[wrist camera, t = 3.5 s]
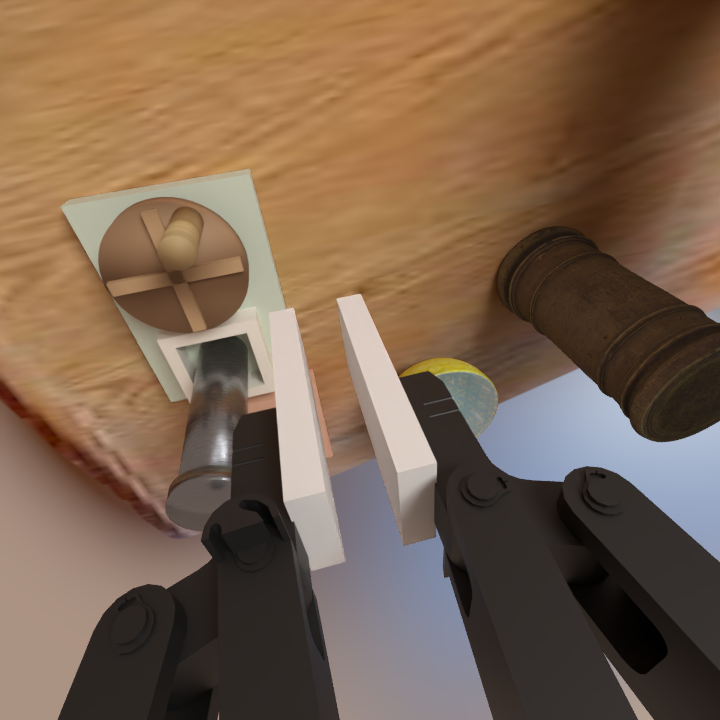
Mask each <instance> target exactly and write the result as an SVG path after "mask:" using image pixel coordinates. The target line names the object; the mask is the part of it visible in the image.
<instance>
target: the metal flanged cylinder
mask: <svg viewBox="0 0 720 720" xmlns="http://www.w3.org/2000/svg"><path fill="white" fill-rule="evenodd" d="M245 414H248V349H247V346H246V345H245V343H244V342H243V341H242V340H241V339H239V338H238V337H236V336H230V337H226V338H221V339H216V340H211V341H207V342H202V343H201V345H200V348H199V353H198V359H197V366H196V372H195V378H194V384H193V390H192V397H191V403H190V409H189V415H188V421H187V427H186V434H185V440H184V446H183V452H182V458H181V465H180V471H179V476H178V477H177V478H176V479H175V480H174V481H173V482H172V484H171V485H170V487H169V491H168V497H167V502H166V513H167V516H168V517H169V519H170V520H171V521H172V522H174V523H175V524H177V525H179V526H181V527H183V528H186V529H190V530H196V531H203V529H204V526H205V524H206V523H207V521H208V519H209V518H210V516H211V514H212V513H213V512H214V511H215V510H216V509H217V508H218V507H220V506H221V505H222V504H223V503H224V502H225V501H227V500H230V499H231V473H232V453H233V450H232V447H233V431H234V430H235V428H236V426H237V424H238V422H239V420H240V418H241V416H242V415H245Z"/></svg>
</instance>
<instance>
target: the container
mask: <svg viewBox="0 0 720 720" xmlns="http://www.w3.org/2000/svg"><path fill="white" fill-rule="evenodd" d="M497 288H498V293H499V296H500V299H501V301H502V302H503V304H504V305H505V306H506V307H507V308H508V309H509V310H510V311H512V312H513V313H515V314H516V315H517V316H518V317H519V318H521V319H522V320H524V321H527V322H530V323H531V324H532V325H533V326H534V328H535V329H536V330H537V331H538V332H540V333H541V334H543V335H545V336H547V337H548V338H549V339H550V340H551V341H552V342H553V343H554V344H555V345H557V346H558V348H560V349H561V350H562V351H563V352H564V353H565V354H566V355H567V356H568V357H569V358H570V359H571V360H572V361H573V362H574V363H575V364H576V365H577V366H578V367H579V368H580V369H581V370H582V371H583V372H584V373H585V374H586V375H587V376H589V378H591V379H592V380H593V381H594V382H595V383H596V384H597V385H598V387H599V389H600V390H601V391H602V392H603V393H604V394H605V395H607V396H609V397H612V398H613V399H614V400H615V401H616V402H617V403H618V404H619V406H620V408H621V409H622V411H623V413H624V415H625V416H626V417H628V418H629V419H630V422H631V425H632V427H633V429H634V430H635V431H636V432H637V433H638V434H639V435H641V436H642V437H644V438H647V439H649V440H651V441H656V442H670V441H675V440H679V439H683V438H686V437H689V436H691V435H694V434H696V433H698V432H700V431H702V430H704V429H706V428H708V427H710V426H712V425H713V424H715V423H717V422H719V421H720V323H717V322H715V321H713V320H712V319H710V318H708V317H707V316H706V315H705V313H704V312H703V311H702V310H701V309H700V308H698V307H696V306H693V305H688V304H686V303H685V302H683V301H681V300H680V299H678V298H676V297H675V296H673V295H671V294H669V293H668V292H666V291H664V290H663V289H661V288H659V287H657V286H655V285H654V284H652V283H650V282H648V281H646V280H645V279H643V278H642V277H640V276H638V275H637V274H635V273H633V272H631V271H629V270H628V269H626V268H625V267H623V266H621V265H620V264H619V263H618V262H617V261H616V260H615V259H614V258H613V257H612V256H610V255H608V254H605V253H602V252H600V251H599V249H598V247H597V246H596V245H595V243H594V242H593V241H591V240H590V239H588V238H586V237H585V236H584V235H583V234H581V233H580V232H578V231H577V230H575V229H571V228H567V227H549V228H545V229H542V230H539V231H537V232H535V233H533V234H531V235H529V236H528V237H526V238H525V239H523V240H522V241H521V242H520V243H518V244H517V245H516V246H515V247H514V248H513V249H512V250H511V251H510V252H509V254H508V255H507V256H506V258H505V259H504V261H503V263H502V265H501V267H500V270H499V273H498V279H497Z"/></svg>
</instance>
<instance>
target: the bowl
mask: <svg viewBox="0 0 720 720" xmlns="http://www.w3.org/2000/svg"><path fill="white" fill-rule="evenodd" d="M425 371H429V372H431V373H432V374H434V375H435V376H436V377H438V378H439V379H440V380H442V381H443V382H444V384H445V385H446V387H447V389H448V391H449V392H450V394H451V396H452V399H454V401H455V403H456V404H457V406H458V408H459V411H461V413H462V415H463V416H464V418H465V420H466V422H467V423H468V425H469V427H470V428H471V430H472V432H473V434H474V435H475V437H478V436H479V435H480V434H481V433H482V432H483V431H484V430H485V429H486V428H487V426H488V425H489V424H490V422H491V421H492V419H493V417H494V415H495V413H496V410H497V406H498V394H497V390H496V388H495V386H494V384H493V383H492V381H491V380H490V379H489V378H488V377H487V376H486V375H485V374H484V373H482V372H481V371H480V370H479V369H477V368H476V367H474V366H473V365H471V364H468V363H466V362H464V361H461V360H457V359H453V358H433V359H428V360H425V361H422V362H419V363H417V364H415V365H413V366H411V367H410V368H408V369H407V370H405V371H404V372H403V373H402V374H401V375H400V376H399V377H404V376H408V375H412V374H417V373H421V372H425ZM399 377H398V378H399Z"/></svg>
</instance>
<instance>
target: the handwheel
mask: <svg viewBox="0 0 720 720" xmlns="http://www.w3.org/2000/svg"><path fill="white" fill-rule="evenodd" d="M98 264H99V270H100V274H101V277H102V280H103V283H104V285H105V287H106V289H107V290H108V292H109V293H110V295H111V296H112V298H113V299H114V300H115V301H116V302H117V304H118V305H119V306H121V307H122V308H123V309H124V310H125V311H126V312H127V313H129V314H130V315H131V316H133V317H134V318H136V319H138V320H139V321H141V322H143V323H145V324H147V325H149V326H152V327H155V328H158V329H161V330H165V331H170V332H179V333H193V332H200V331H204V330H208V329H211V328H214V327H216V326H218V325H220V324H222V323H224V322H225V321H227V320H228V319H230V318H231V317H232V316H233V315H234V314H235V313H236V312H237V311H238V309H239V308H240V307H241V305H242V303H243V301H244V300H245V297H246V294H247V290H248V286H249V263H248V257H247V253H246V250H245V248H244V245H243V243H242V241H241V239H240V237H239V236H238V234H237V233H236V232H235V230H234V229H233V228H232V227H231V226H230V225H229V223H228V222H227V221H225V220H224V219H223V218H222V217H221V216H220V215H218V214H217V213H215V212H214V211H212V210H211V209H209V208H207V207H205V206H203V205H201V204H198V203H196V202H193V201H190V200H186V199H182V198H175V197H157V198H150V199H146V200H142V201H140V202H137V203H135V204H133V205H131V206H130V207H128V208H126V209H125V210H124V211H123V212H122V213H120V214H119V215H118V216H117V218H116V219H115V220H114V221H113V223H112V224H111V225H110V226H109V228H108V229H107V231H106V232H105V234H104V236H103V238H102V241H101V243H100V247H99V253H98Z"/></svg>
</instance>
